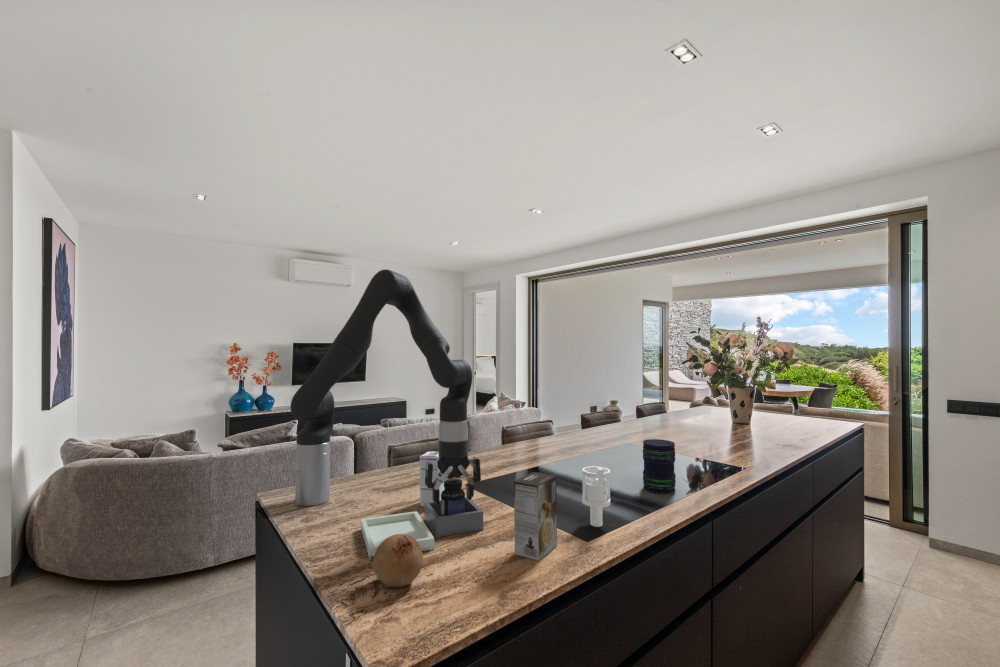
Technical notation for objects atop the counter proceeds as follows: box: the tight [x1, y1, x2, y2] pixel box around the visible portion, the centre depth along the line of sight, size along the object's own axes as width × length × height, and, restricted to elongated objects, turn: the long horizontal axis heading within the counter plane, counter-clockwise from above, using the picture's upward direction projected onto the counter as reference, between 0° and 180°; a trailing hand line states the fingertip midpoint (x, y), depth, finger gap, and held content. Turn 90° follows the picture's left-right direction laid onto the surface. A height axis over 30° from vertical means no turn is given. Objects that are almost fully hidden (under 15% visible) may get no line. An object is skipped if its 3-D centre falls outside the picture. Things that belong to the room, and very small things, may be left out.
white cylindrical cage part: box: [581, 465, 611, 528], centre depth 116 cm, size 7×7×15 cm
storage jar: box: [642, 438, 677, 495], centre depth 144 cm, size 10×10×15 cm
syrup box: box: [419, 450, 445, 507], centre depth 131 cm, size 6×6×14 cm
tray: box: [360, 511, 435, 562], centre depth 107 cm, size 14×18×2 cm
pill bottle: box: [441, 478, 466, 516], centre depth 116 cm, size 6×6×11 cm
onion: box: [372, 534, 424, 588], centre depth 88 cm, size 10×9×10 cm
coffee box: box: [513, 472, 558, 562], centre depth 102 cm, size 9×6×16 cm
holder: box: [423, 496, 484, 538], centre depth 116 cm, size 12×12×4 cm
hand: (453, 501), depth 116 cm, fingers open, 8 cm apart
